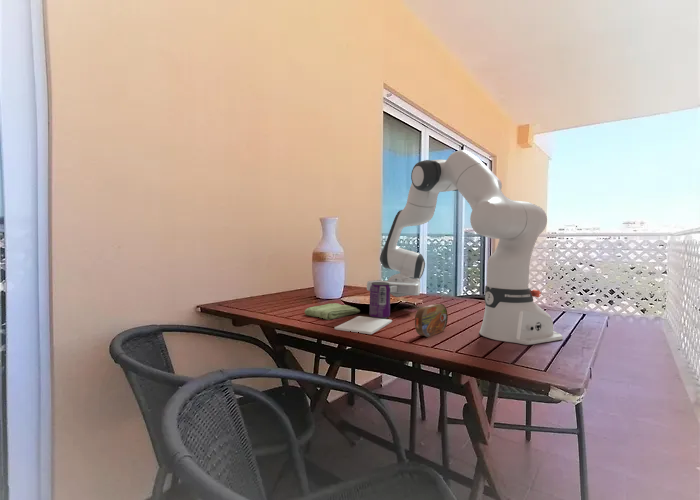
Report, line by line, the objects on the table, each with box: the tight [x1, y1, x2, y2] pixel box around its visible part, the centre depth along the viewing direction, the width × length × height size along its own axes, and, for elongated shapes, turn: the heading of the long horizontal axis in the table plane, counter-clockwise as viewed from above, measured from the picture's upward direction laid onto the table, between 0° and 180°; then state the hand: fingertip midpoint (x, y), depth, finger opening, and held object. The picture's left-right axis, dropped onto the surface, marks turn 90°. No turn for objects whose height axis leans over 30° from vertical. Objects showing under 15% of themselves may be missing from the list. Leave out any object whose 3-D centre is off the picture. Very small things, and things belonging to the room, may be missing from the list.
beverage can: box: [368, 282, 391, 319], centre depth 130 cm, size 7×7×12 cm
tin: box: [414, 303, 449, 338], centre depth 110 cm, size 15×3×8 cm, turn 137°
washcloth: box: [304, 302, 361, 321], centre depth 135 cm, size 13×18×3 cm
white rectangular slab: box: [334, 315, 393, 335], centre depth 118 cm, size 18×12×1 cm, turn 155°
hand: (386, 289), depth 135 cm, fingers closed
